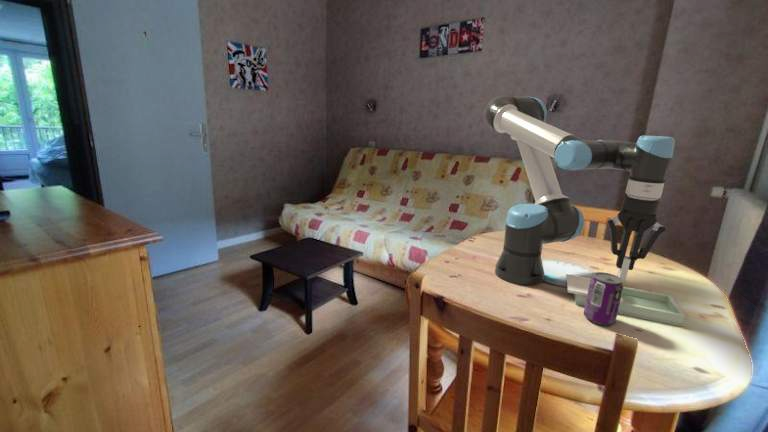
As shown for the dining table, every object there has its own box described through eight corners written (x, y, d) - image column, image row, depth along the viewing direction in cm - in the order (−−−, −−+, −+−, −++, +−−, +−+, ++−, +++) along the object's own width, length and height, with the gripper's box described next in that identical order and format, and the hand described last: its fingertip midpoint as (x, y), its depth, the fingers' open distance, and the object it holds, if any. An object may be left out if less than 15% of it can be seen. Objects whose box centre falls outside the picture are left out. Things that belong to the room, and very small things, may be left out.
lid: (567, 292, 97) (569, 282, 96) (566, 276, 107) (567, 266, 106) (622, 303, 91) (625, 292, 90) (615, 285, 101) (617, 275, 101)
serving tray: (575, 304, 96) (577, 294, 95) (572, 286, 107) (574, 277, 106) (682, 326, 87) (685, 316, 86) (668, 304, 97) (670, 295, 96)
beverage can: (619, 329, 85) (630, 285, 82) (588, 325, 86) (597, 282, 83) (607, 314, 92) (617, 272, 88) (579, 310, 93) (587, 270, 90)
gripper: (615, 196, 88) (595, 279, 95) (678, 203, 83) (652, 290, 90) (610, 191, 95) (592, 268, 101) (668, 197, 89) (646, 278, 96)
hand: (621, 278), depth 96 cm, fingers closed
